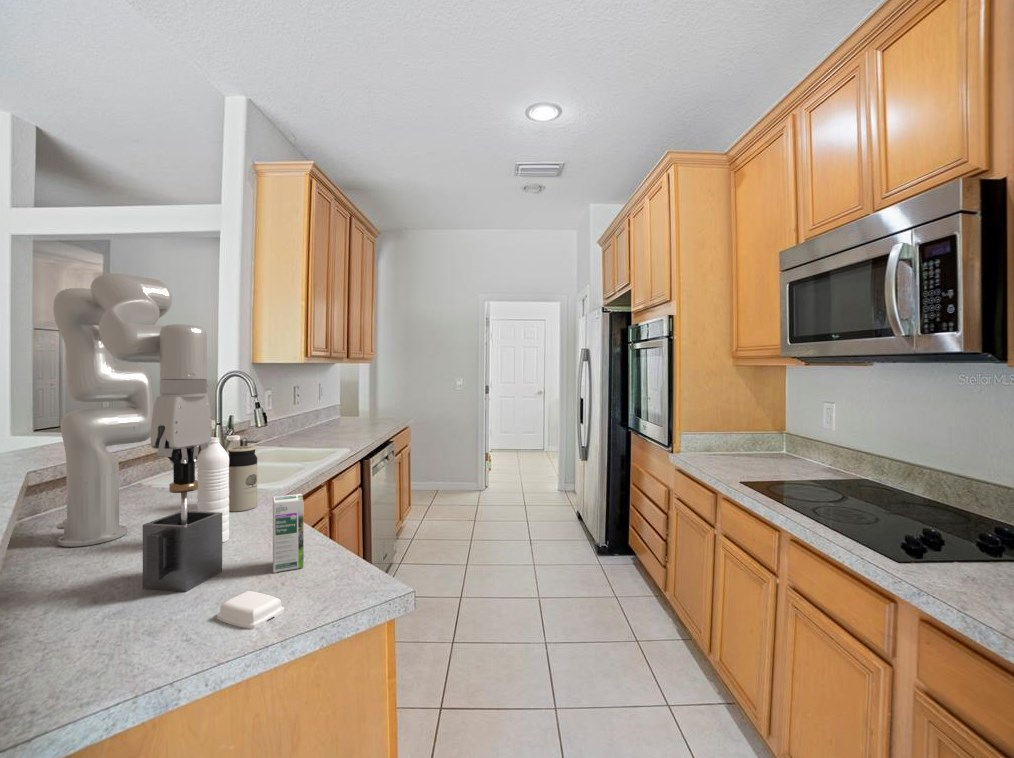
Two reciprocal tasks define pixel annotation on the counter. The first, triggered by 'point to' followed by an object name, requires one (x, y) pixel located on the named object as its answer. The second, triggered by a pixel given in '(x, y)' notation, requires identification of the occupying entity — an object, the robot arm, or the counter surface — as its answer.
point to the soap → (250, 609)
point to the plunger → (183, 496)
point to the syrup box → (288, 533)
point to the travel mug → (242, 478)
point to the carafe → (182, 551)
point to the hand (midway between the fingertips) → (184, 482)
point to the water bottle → (214, 481)
